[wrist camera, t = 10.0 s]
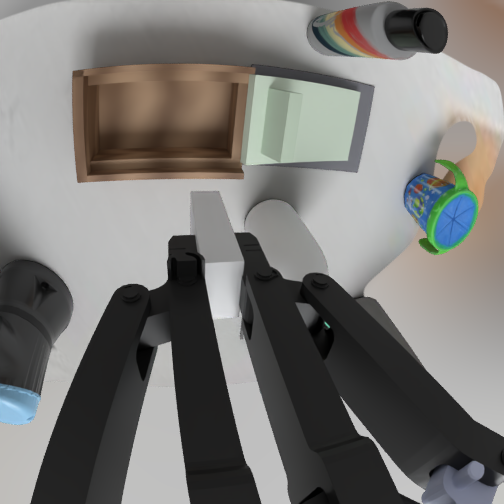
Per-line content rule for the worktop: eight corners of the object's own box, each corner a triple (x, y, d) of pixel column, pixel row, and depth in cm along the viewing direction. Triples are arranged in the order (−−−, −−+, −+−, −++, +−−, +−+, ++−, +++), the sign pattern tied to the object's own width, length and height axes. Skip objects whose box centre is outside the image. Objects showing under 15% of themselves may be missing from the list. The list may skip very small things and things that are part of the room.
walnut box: (93, 162, 35) (77, 182, 29) (92, 69, 28) (72, 71, 23) (233, 160, 39) (243, 179, 33) (243, 67, 32) (255, 67, 27)
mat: (241, 163, 39) (241, 164, 39) (251, 64, 32) (252, 64, 32) (356, 172, 43) (357, 172, 43) (373, 86, 36) (374, 86, 36)
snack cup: (428, 231, 53) (460, 262, 44) (385, 234, 51) (418, 268, 42) (449, 153, 44) (490, 176, 36) (405, 146, 42) (448, 170, 34)
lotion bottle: (314, 8, 29) (418, -18, 13) (352, 27, 31) (466, 24, 15) (299, 45, 32) (398, 40, 16) (338, 62, 34) (449, 79, 17)
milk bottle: (233, 218, 43) (267, 324, 27) (280, 187, 42) (343, 277, 26) (261, 254, 48) (302, 359, 32) (304, 226, 47) (366, 322, 30)
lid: (240, 162, 33) (264, 176, 30) (249, 74, 28) (276, 77, 25) (341, 157, 41) (367, 169, 38) (353, 90, 36) (382, 97, 33)
